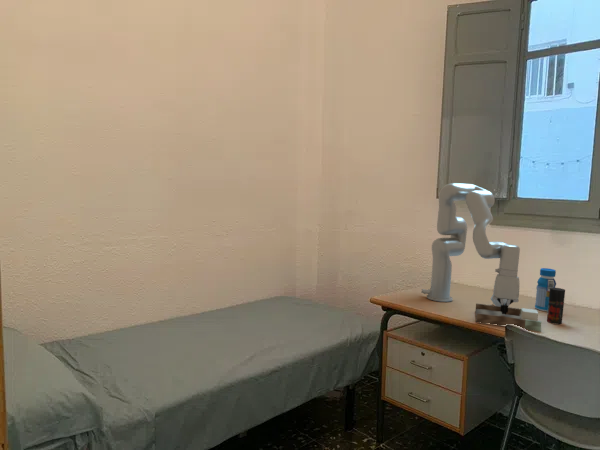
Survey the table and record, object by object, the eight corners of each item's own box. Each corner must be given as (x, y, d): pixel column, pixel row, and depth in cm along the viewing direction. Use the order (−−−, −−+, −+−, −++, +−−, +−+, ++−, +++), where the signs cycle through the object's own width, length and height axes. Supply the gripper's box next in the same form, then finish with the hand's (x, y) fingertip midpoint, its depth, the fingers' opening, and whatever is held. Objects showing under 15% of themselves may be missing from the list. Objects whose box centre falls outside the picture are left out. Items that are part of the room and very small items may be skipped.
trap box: (476, 322, 204) (477, 313, 204) (475, 311, 222) (476, 303, 222) (540, 331, 196) (541, 322, 196) (534, 319, 214) (535, 310, 214)
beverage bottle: (532, 309, 231) (536, 269, 229) (536, 306, 238) (540, 266, 236) (552, 313, 226) (556, 271, 224) (555, 309, 233) (559, 269, 231)
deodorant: (543, 319, 214) (547, 287, 212) (556, 320, 214) (559, 287, 213) (551, 324, 208) (555, 290, 206) (564, 324, 208) (568, 290, 207)
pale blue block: (521, 320, 204) (522, 311, 204) (520, 316, 210) (521, 308, 209) (537, 322, 202) (538, 313, 201) (535, 318, 207) (536, 309, 207)
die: (508, 311, 228) (518, 294, 230) (492, 301, 229) (501, 284, 231) (500, 313, 236) (510, 296, 238) (485, 302, 237) (494, 286, 239)
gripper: (490, 272, 206) (486, 313, 208) (527, 276, 201) (523, 318, 203) (489, 269, 213) (485, 309, 215) (525, 273, 208) (521, 313, 211)
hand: (503, 313), depth 209 cm, fingers closed
